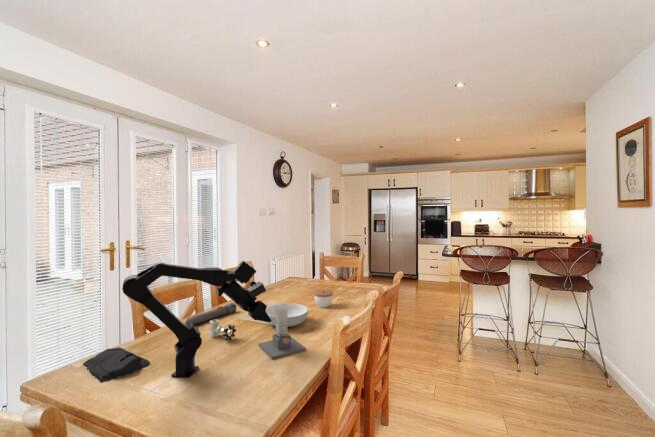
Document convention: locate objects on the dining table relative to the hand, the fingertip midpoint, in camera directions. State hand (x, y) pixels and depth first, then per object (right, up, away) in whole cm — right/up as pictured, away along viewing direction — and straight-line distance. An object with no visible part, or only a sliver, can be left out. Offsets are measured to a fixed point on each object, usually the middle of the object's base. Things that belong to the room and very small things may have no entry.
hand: (266, 318), depth 121 cm
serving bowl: (+4, -13, +31) cm, 34 cm away
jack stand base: (+5, -13, +4) cm, 15 cm away
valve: (-22, -13, +15) cm, 30 cm away
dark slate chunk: (-52, -14, -9) cm, 54 cm away
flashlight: (-35, -13, +39) cm, 54 cm away
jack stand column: (+5, -8, +4) cm, 11 cm away
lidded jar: (+21, -12, +59) cm, 63 cm away
